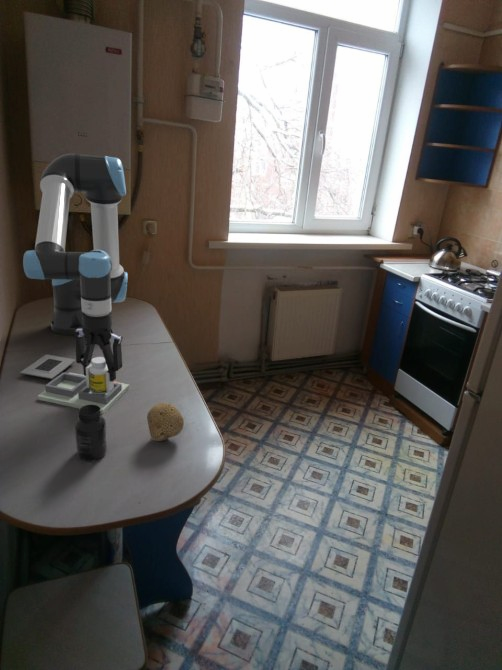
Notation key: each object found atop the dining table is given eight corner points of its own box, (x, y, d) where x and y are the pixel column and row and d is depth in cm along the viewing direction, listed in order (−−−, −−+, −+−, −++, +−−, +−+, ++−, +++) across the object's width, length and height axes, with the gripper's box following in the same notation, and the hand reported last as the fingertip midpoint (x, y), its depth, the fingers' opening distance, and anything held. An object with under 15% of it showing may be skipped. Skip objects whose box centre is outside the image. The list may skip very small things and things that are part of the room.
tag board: (69, 375, 140) (69, 366, 139) (129, 388, 136) (129, 378, 135) (38, 399, 126) (37, 389, 125) (103, 413, 123) (102, 403, 122)
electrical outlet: (52, 384, 136) (52, 377, 135) (20, 378, 137) (20, 371, 136) (76, 365, 148) (75, 358, 147) (46, 360, 149) (46, 353, 148)
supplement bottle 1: (86, 392, 127) (84, 361, 124) (97, 383, 132) (96, 354, 128) (103, 396, 126) (101, 365, 122) (114, 388, 131) (113, 357, 127)
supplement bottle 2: (112, 453, 108) (111, 410, 104) (86, 465, 103) (83, 422, 99) (97, 440, 112) (95, 398, 108) (71, 451, 107) (67, 408, 103)
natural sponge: (183, 428, 120) (184, 396, 116) (183, 449, 112) (184, 415, 108) (148, 428, 119) (148, 395, 115) (145, 449, 111) (145, 415, 107)
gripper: (57, 310, 118) (63, 387, 127) (121, 322, 115) (123, 400, 124) (73, 302, 125) (78, 376, 134) (135, 313, 122) (136, 387, 131)
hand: (100, 387), depth 129 cm, fingers closed on supplement bottle 1, 5 cm apart
